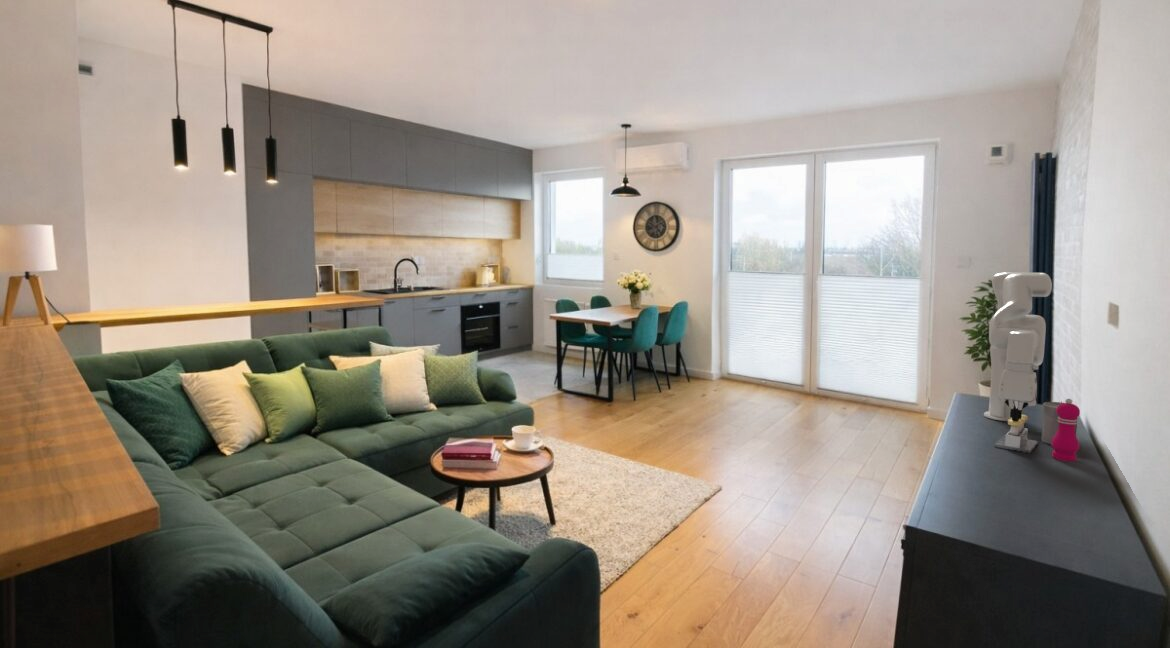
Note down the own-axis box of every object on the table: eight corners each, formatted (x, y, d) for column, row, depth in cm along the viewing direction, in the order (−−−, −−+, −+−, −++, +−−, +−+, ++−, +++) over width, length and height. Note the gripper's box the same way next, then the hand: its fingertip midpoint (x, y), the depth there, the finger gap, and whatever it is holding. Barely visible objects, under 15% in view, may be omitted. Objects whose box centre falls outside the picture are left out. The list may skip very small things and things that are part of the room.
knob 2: (1011, 431, 216) (1012, 415, 215) (1024, 433, 213) (1026, 418, 212) (1008, 433, 213) (1009, 418, 212) (1022, 436, 210) (1023, 420, 210)
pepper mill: (1068, 455, 203) (1073, 396, 201) (1083, 462, 196) (1089, 401, 194) (1045, 454, 204) (1049, 396, 201) (1059, 461, 197) (1064, 401, 194)
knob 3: (1013, 428, 219) (1014, 413, 218) (1027, 430, 216) (1028, 415, 216) (1011, 431, 216) (1012, 415, 216) (1025, 433, 213) (1026, 417, 213)
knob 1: (1008, 434, 213) (1009, 418, 212) (1022, 436, 210) (1023, 420, 209) (1006, 436, 210) (1007, 420, 209) (1020, 439, 207) (1021, 423, 206)
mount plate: (1003, 438, 222) (1004, 424, 221) (1037, 443, 215) (1038, 430, 214) (994, 446, 212) (995, 433, 211) (1029, 453, 205) (1030, 438, 204)
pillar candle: (1076, 442, 216) (1079, 400, 215) (1074, 448, 209) (1076, 405, 208) (1042, 437, 223) (1045, 396, 221) (1039, 443, 216) (1041, 401, 214)
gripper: (1048, 368, 204) (1044, 422, 206) (995, 363, 215) (992, 414, 217) (1044, 371, 199) (1040, 426, 201) (990, 366, 209) (987, 418, 211)
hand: (1015, 420), depth 209 cm, fingers closed
